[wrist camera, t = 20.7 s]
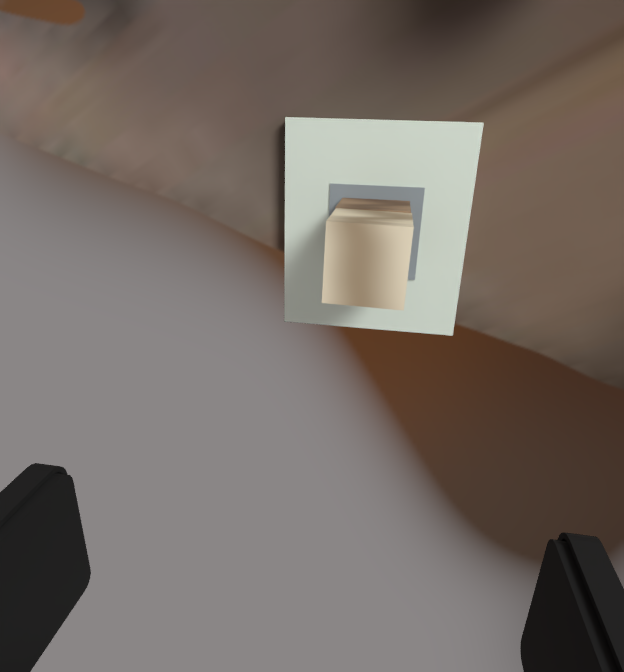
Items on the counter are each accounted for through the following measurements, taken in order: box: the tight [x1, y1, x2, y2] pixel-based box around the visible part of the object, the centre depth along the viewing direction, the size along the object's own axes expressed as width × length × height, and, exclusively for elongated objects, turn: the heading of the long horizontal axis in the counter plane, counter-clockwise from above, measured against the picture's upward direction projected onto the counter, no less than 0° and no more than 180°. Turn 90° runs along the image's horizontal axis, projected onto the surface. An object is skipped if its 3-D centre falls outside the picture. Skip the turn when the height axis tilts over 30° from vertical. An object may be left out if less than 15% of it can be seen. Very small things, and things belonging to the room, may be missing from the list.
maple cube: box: [322, 208, 414, 311], centre depth 32 cm, size 5×5×5 cm
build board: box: [284, 117, 484, 336], centre depth 40 cm, size 14×16×1 cm
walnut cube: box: [335, 198, 411, 213], centre depth 37 cm, size 5×5×5 cm
